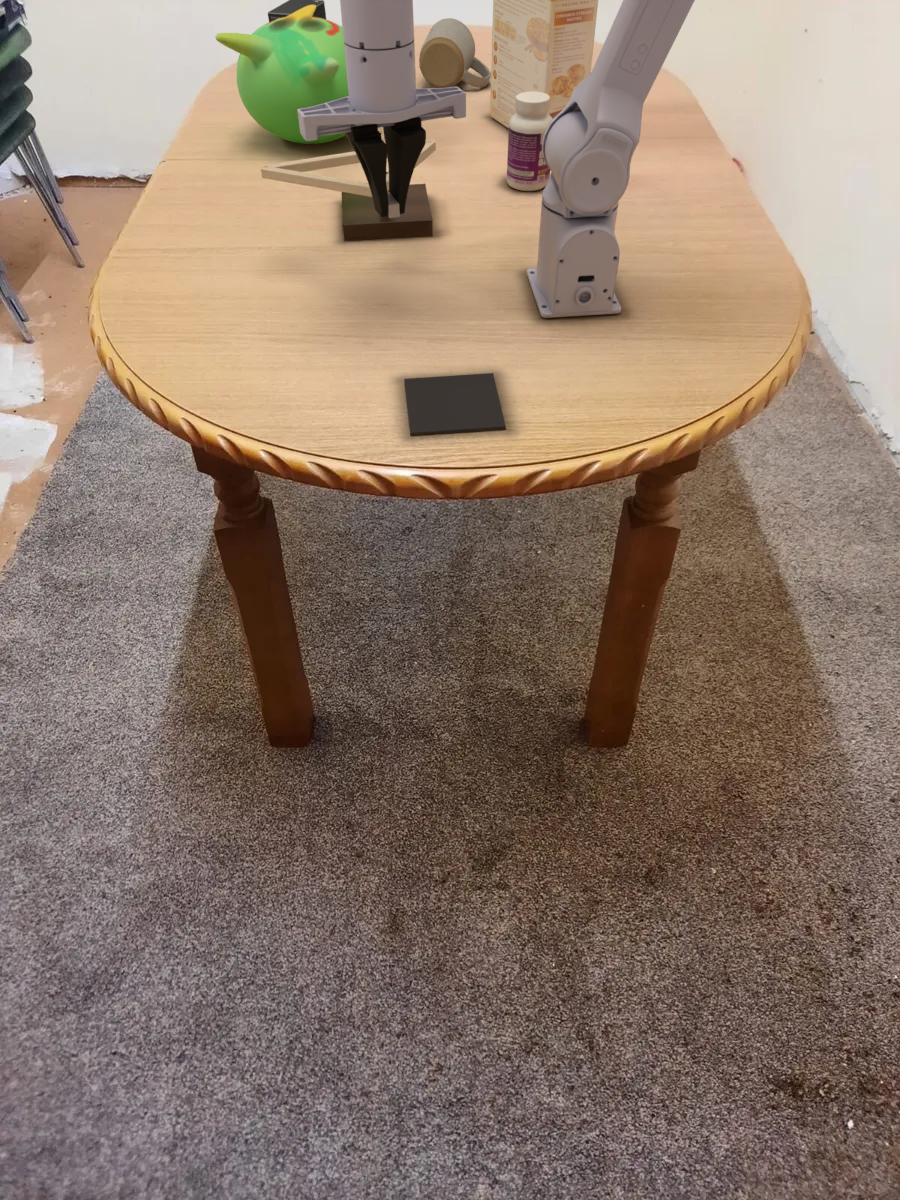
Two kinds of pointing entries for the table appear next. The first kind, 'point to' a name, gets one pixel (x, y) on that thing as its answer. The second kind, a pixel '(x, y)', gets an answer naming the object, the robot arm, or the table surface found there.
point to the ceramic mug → (451, 56)
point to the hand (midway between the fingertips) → (389, 211)
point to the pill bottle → (528, 142)
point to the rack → (370, 225)
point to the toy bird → (290, 70)
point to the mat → (453, 404)
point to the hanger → (297, 175)
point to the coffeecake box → (539, 51)
